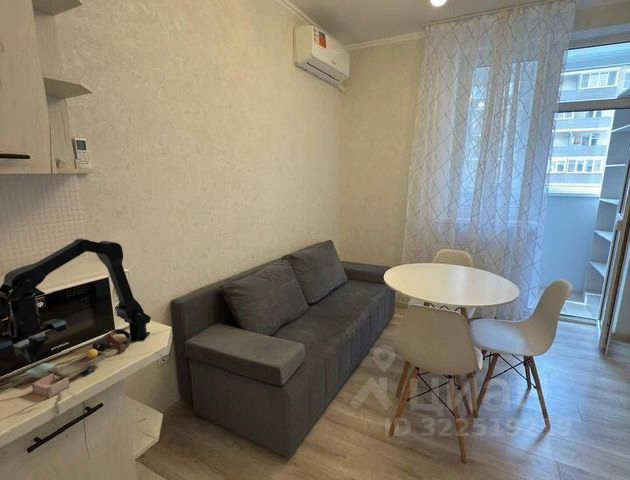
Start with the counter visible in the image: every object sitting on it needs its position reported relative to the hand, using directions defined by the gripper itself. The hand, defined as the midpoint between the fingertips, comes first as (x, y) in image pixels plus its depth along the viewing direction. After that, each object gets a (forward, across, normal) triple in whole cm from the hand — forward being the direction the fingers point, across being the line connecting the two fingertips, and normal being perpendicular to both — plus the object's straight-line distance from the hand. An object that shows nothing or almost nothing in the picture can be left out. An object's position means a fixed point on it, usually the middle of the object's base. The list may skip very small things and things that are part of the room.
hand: (31, 362), depth 96 cm
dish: (+6, +2, +10) cm, 11 cm away
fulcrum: (+6, -8, +10) cm, 14 cm away
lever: (+4, -6, +6) cm, 9 cm away
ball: (+1, -11, +10) cm, 15 cm away
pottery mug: (+6, -21, +6) cm, 23 cm away
